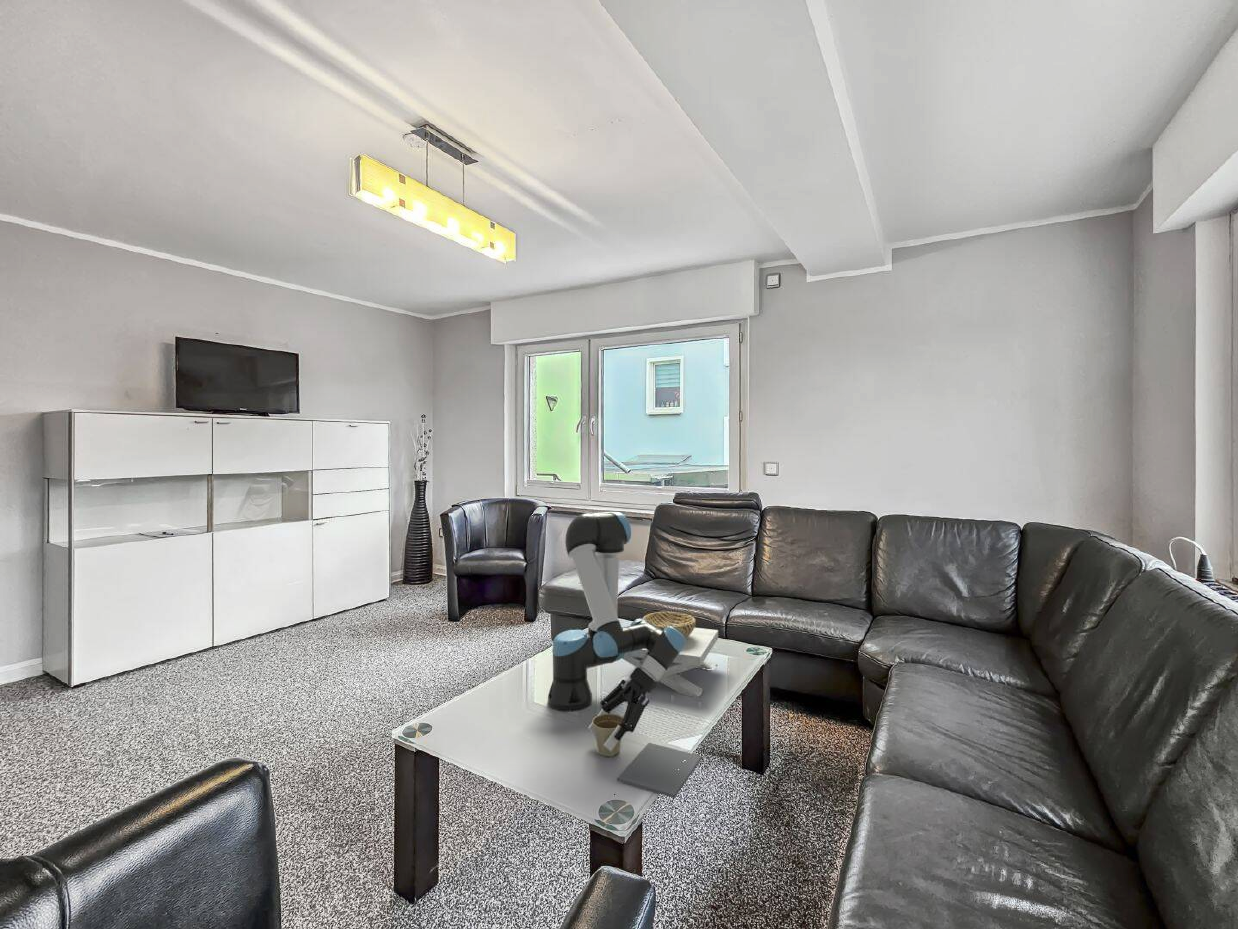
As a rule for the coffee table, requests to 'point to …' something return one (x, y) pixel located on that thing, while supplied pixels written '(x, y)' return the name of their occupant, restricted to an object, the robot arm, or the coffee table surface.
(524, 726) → the coffee table surface
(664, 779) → the charcoal mat
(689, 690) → the white x-leg stand
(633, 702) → the robot arm
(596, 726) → the flower pot
